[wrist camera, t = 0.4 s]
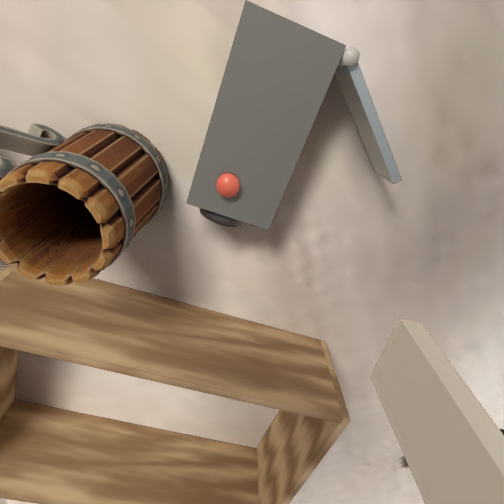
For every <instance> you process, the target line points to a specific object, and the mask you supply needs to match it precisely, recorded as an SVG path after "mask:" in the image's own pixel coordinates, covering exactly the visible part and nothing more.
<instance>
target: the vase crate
mask: <svg viewBox="0 0 504 504" xmlns="http://www.w3.org/2000/svg"><path fill="white" fill-rule="evenodd" d="M18 350H19V351H24V352H28V353H33V354H37V355H41V356H46V357H50V358H55V359H59V360H63V361H68V362H72V363H77V364H81V365H85V366H90V367H94V368H99V369H103V370H107V371H112V372H116V373H121V374H125V375H129V376H134V377H138V378H143V379H147V380H151V381H156V382H160V383H165V384H169V385H173V386H178V387H182V388H187V389H191V390H195V391H200V392H204V393H209V394H213V395H217V396H222V397H226V398H231V399H235V400H239V401H244V402H248V403H253V404H257V405H261V406H266V407H270V408H274V409H279V412H278V413H277V415H276V417H275V418H274V420H273V422H272V424H271V425H270V427H269V429H268V430H267V432H266V434H265V435H264V437H263V439H262V441H261V442H260V444H259V446H258V447H257V449H255V448H250V447H245V446H241V445H236V444H231V443H226V442H221V441H216V440H211V439H206V438H201V437H196V436H191V435H186V434H181V433H176V432H171V431H166V430H161V429H157V428H152V427H147V426H142V425H137V424H132V423H127V422H122V421H117V420H112V419H107V418H102V417H97V416H92V415H87V414H82V413H77V412H73V411H68V410H63V409H58V408H53V407H48V406H43V405H38V404H33V403H28V402H23V401H18V400H15V387H16V374H17V361H18ZM349 421H350V418H349V414H348V411H347V408H346V405H345V402H344V399H343V395H342V392H341V389H340V386H339V383H338V380H337V376H336V373H335V370H334V367H333V364H332V361H331V358H330V354H329V351H328V348H327V345H326V342H325V341H321V340H317V339H314V338H310V337H306V336H303V335H299V334H295V333H292V332H288V331H284V330H281V329H277V328H273V327H270V326H266V325H262V324H259V323H255V322H251V321H248V320H244V319H240V318H237V317H233V316H229V315H226V314H222V313H218V312H215V311H211V310H208V309H204V308H200V307H197V306H193V305H189V304H186V303H182V302H178V301H175V300H171V299H167V298H164V297H160V296H156V295H153V294H149V293H145V292H142V291H138V290H134V289H131V288H127V287H123V286H120V285H116V284H112V283H109V282H105V281H101V280H98V279H94V278H92V279H90V280H88V281H85V282H81V283H75V282H72V283H71V284H68V285H63V286H55V285H49V284H48V283H46V282H45V277H44V278H42V279H40V280H31V279H29V278H26V277H24V276H23V275H21V274H20V273H19V272H18V271H17V263H14V264H10V265H9V266H7V267H6V268H5V269H4V270H2V271H1V272H0V498H5V499H11V500H18V501H24V502H31V503H37V504H289V503H290V502H291V500H292V499H293V497H294V496H295V495H296V493H297V492H298V491H299V489H300V488H301V487H302V485H303V484H304V483H305V481H306V480H307V478H308V477H309V476H310V474H311V473H312V472H313V470H314V469H315V468H316V466H317V465H318V463H319V462H320V461H321V459H322V458H323V457H324V455H325V454H326V453H327V451H328V450H329V449H330V447H331V446H332V444H333V443H334V442H335V440H336V439H337V438H338V436H339V435H340V434H341V432H342V431H343V430H344V428H345V427H346V425H347V424H348V423H349Z"/></svg>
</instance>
